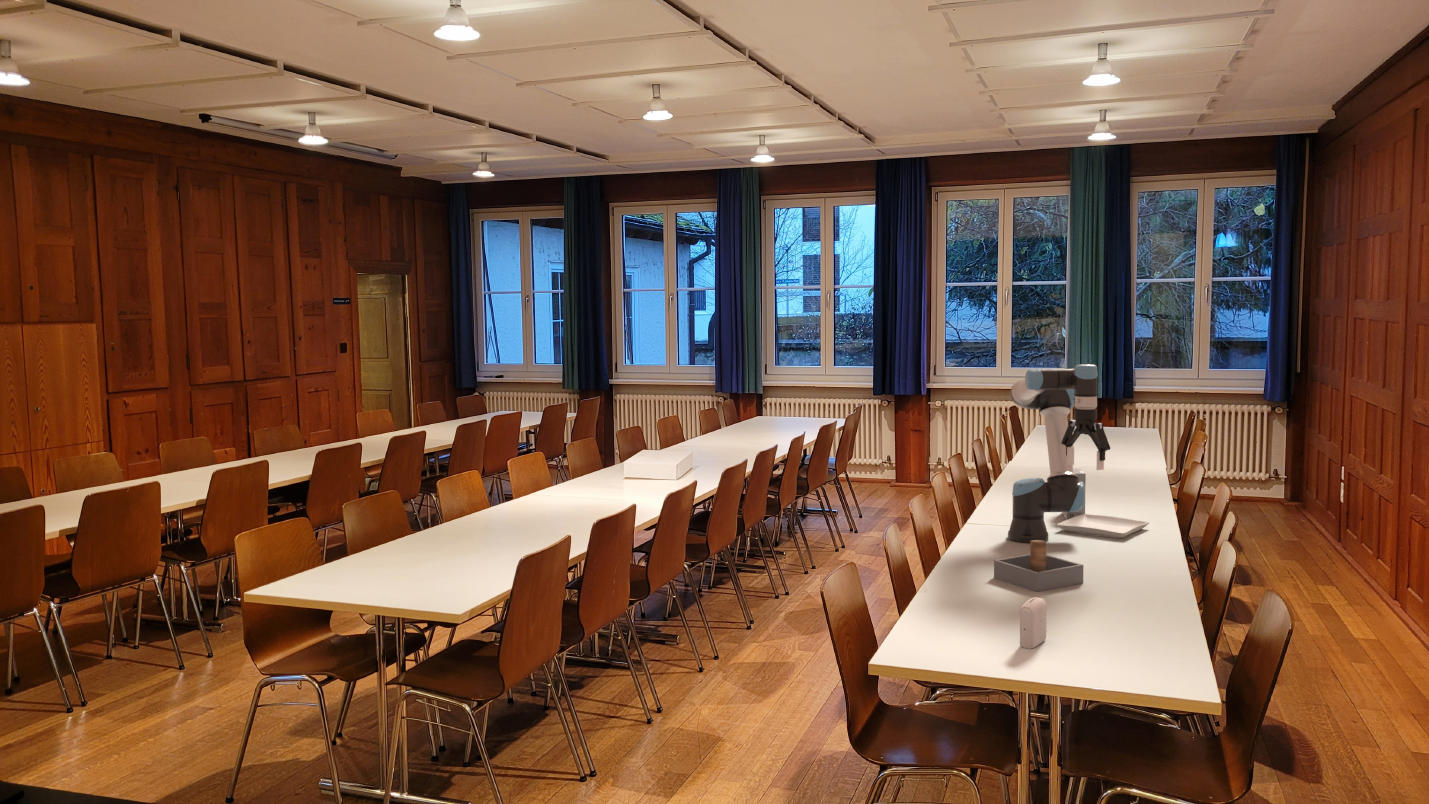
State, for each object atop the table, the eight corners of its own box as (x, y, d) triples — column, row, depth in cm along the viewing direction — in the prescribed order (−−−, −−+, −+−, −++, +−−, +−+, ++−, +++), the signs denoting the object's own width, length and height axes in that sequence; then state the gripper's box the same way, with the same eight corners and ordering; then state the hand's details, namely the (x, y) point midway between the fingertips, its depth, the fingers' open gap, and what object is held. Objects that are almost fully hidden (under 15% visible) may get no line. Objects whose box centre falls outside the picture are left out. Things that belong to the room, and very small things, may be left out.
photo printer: (1033, 650, 272) (1033, 604, 271) (1017, 646, 275) (1017, 602, 274) (1048, 639, 280) (1048, 595, 279) (1033, 636, 283) (1033, 593, 282)
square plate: (1124, 542, 390) (1124, 532, 390) (1055, 533, 409) (1055, 523, 408) (1149, 529, 410) (1150, 520, 410) (1083, 521, 429) (1083, 512, 428)
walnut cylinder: (1027, 575, 342) (1027, 540, 340) (1042, 574, 342) (1042, 539, 341) (1034, 579, 337) (1034, 543, 335) (1048, 578, 337) (1048, 543, 336)
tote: (993, 577, 344) (993, 560, 343) (1038, 569, 353) (1038, 552, 352) (1037, 591, 326) (1037, 573, 325) (1083, 582, 335) (1083, 564, 334)
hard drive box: (1085, 520, 428) (1086, 473, 426) (1066, 520, 430) (1066, 473, 428) (1080, 513, 443) (1080, 467, 441) (1061, 513, 445) (1061, 467, 443)
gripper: (1051, 406, 372) (1051, 463, 374) (1106, 411, 350) (1105, 472, 352) (1066, 404, 376) (1066, 461, 378) (1121, 410, 354) (1120, 470, 356)
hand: (1085, 467), depth 365 cm, fingers open, 13 cm apart
